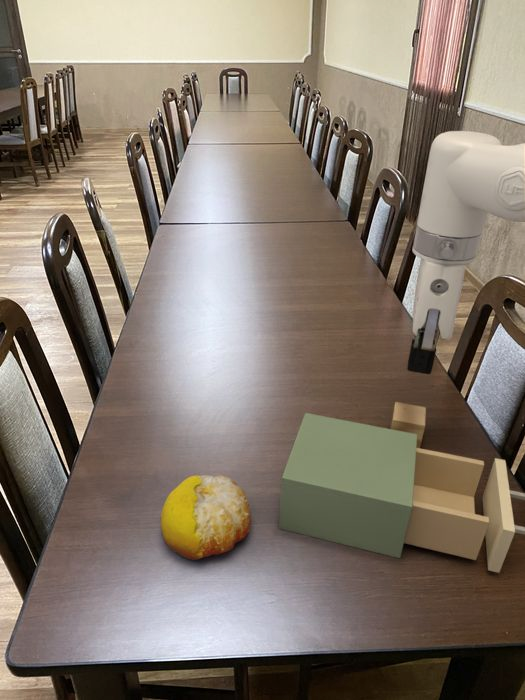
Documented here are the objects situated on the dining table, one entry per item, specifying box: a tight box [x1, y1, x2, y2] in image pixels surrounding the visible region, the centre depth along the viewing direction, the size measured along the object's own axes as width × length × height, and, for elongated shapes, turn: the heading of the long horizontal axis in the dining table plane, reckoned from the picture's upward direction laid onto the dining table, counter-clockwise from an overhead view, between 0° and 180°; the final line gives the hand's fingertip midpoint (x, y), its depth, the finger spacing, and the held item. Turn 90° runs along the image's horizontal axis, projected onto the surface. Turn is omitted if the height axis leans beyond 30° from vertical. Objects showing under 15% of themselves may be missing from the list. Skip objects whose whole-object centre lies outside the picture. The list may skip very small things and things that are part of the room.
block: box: [390, 401, 427, 449], centre depth 80 cm, size 4×4×4 cm
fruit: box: [160, 474, 252, 561], centre depth 64 cm, size 11×10×8 cm
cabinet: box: [278, 412, 417, 559], centre depth 67 cm, size 15×13×9 cm
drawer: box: [404, 447, 525, 574], centre depth 64 cm, size 19×11×7 cm, turn 74°
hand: (419, 368), depth 74 cm, fingers closed
